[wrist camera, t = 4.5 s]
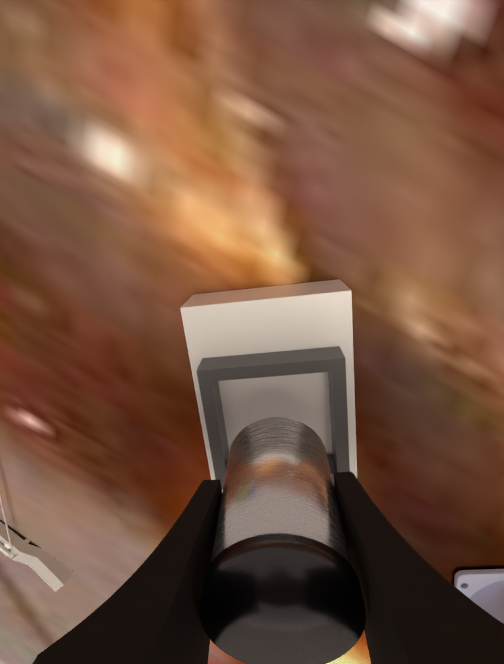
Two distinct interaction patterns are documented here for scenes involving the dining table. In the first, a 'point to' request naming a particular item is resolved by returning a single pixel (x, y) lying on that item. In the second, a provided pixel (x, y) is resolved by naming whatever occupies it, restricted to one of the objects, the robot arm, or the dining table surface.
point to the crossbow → (32, 556)
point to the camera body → (274, 365)
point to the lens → (280, 553)
